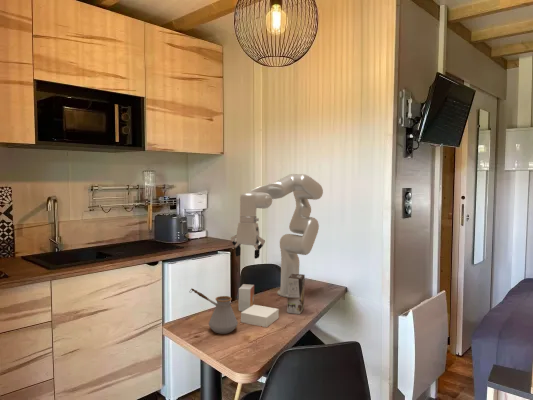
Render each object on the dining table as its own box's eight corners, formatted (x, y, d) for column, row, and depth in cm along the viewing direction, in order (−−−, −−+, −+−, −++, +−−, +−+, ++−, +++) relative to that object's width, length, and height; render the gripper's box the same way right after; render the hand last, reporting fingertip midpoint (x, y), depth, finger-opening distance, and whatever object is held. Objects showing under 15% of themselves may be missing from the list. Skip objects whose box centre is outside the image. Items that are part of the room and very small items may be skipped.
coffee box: (300, 314, 179) (301, 279, 178) (286, 312, 180) (287, 277, 179) (304, 308, 188) (305, 274, 186) (290, 306, 189) (291, 273, 188)
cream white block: (254, 314, 179) (254, 304, 178) (278, 319, 173) (278, 309, 173) (240, 323, 168) (240, 312, 168) (266, 328, 163) (266, 317, 162)
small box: (250, 312, 180) (250, 289, 180) (238, 311, 181) (238, 288, 181) (254, 306, 188) (254, 284, 188) (242, 305, 189) (243, 283, 189)
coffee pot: (242, 327, 162) (243, 291, 161) (229, 337, 152) (229, 299, 151) (197, 319, 170) (197, 284, 169) (181, 328, 160) (182, 291, 159)
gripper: (268, 220, 182) (267, 257, 183) (235, 218, 189) (235, 253, 190) (261, 222, 175) (260, 260, 176) (227, 219, 183) (226, 256, 184)
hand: (247, 256), depth 183 cm, fingers open, 9 cm apart
